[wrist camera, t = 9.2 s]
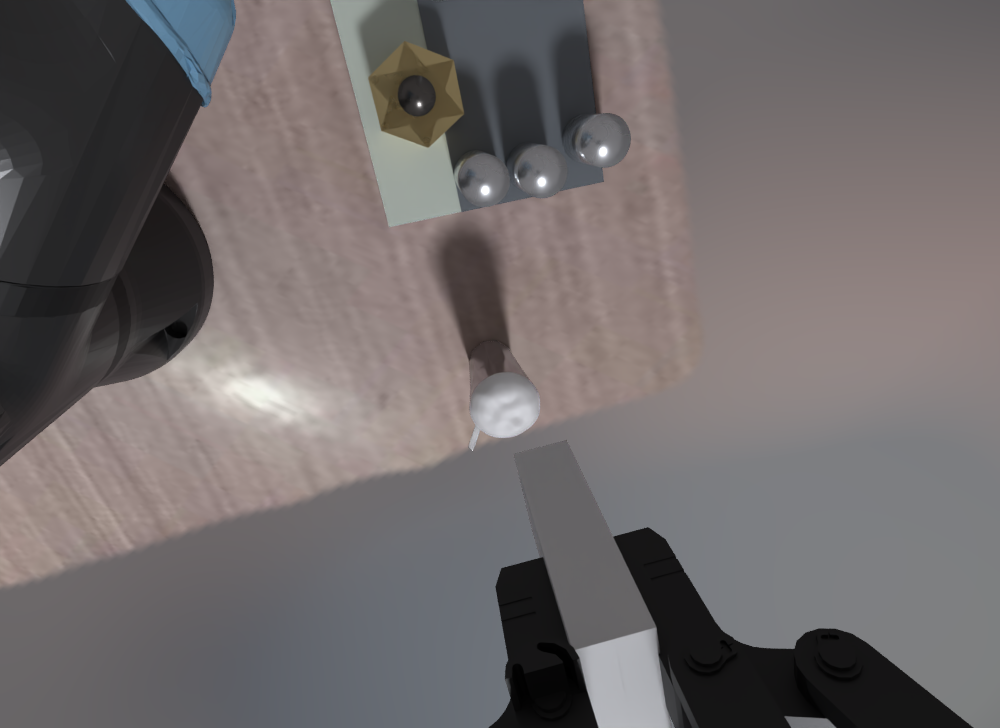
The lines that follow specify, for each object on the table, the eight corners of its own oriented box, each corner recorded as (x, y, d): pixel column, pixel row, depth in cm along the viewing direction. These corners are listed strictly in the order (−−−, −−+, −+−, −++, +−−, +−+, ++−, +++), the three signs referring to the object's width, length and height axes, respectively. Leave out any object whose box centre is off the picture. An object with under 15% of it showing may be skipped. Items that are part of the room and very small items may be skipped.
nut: (412, 161, 39) (410, 164, 36) (356, 97, 37) (349, 95, 34) (478, 97, 38) (482, 96, 35) (424, 29, 36) (423, 21, 33)
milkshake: (440, 362, 45) (446, 424, 36) (496, 319, 44) (517, 371, 35) (477, 404, 47) (492, 473, 38) (531, 363, 46) (560, 423, 37)
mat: (389, 226, 41) (389, 227, 40) (318, -48, 35) (316, -51, 34) (601, 180, 42) (603, 181, 41) (569, -96, 35) (571, -100, 35)
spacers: (460, 204, 40) (465, 215, 36) (403, -63, 34) (402, -92, 30) (610, 172, 41) (634, 178, 36) (580, -97, 35) (605, -130, 30)
